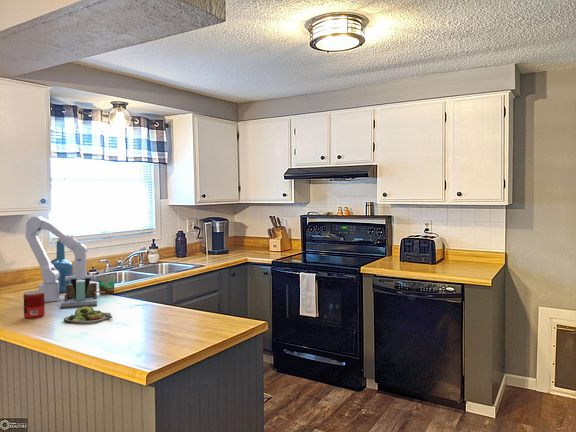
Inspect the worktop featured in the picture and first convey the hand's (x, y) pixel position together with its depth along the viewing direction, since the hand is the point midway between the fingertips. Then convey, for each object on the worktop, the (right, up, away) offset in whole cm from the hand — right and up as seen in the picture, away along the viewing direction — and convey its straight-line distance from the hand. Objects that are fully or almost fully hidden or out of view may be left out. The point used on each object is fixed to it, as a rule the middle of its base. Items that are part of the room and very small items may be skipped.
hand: (80, 293), depth 240 cm
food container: (+9, -3, +17) cm, 19 cm away
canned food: (-3, -4, -39) cm, 39 cm away
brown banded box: (-1, -3, +2) cm, 3 cm away
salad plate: (+22, -4, -43) cm, 48 cm away
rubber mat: (+7, -3, -17) cm, 18 cm away
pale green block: (0, -3, 0) cm, 3 cm away
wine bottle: (-22, -3, +23) cm, 32 cm away
